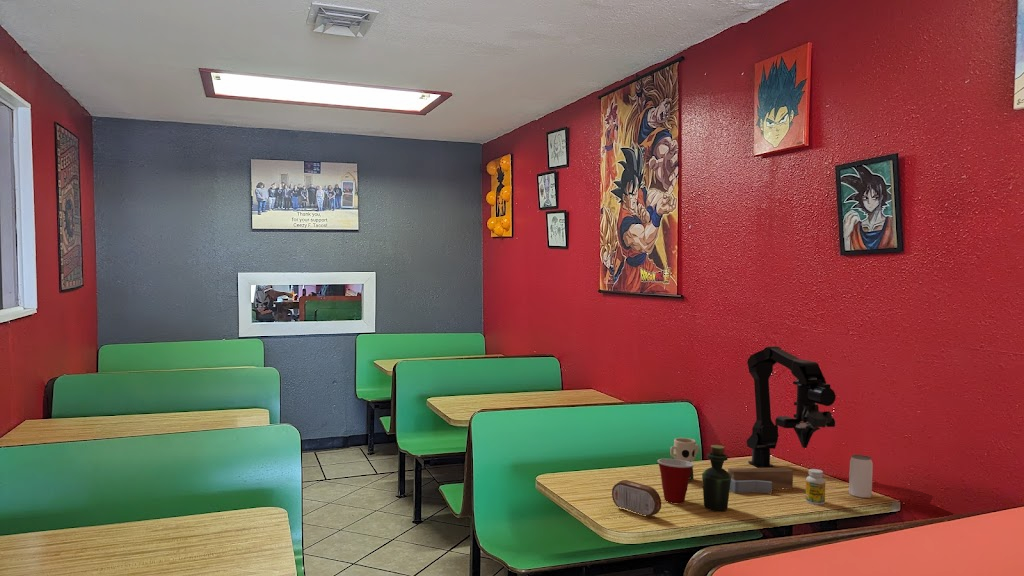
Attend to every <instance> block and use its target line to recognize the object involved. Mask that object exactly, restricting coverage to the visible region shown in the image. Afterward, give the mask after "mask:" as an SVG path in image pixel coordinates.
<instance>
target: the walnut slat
mask: <svg viewBox="0 0 1024 576" xmlns="http://www.w3.org/2000/svg"><path fill="white" fill-rule="evenodd" d="M727 469H728V470H727V472H728V473H729V474H730V476H731V478H732V479H734V480H736V481H741V480H761V481H770V482H772V490H787V489H786V488H789V489H788V490H793V489H794V488H793V485H794V484H793V483H794V470H792V469H790V468H788V467H737V468H736V467H734V468H733V467H732V468H731V467H730V468H729V467H728V468H727ZM782 488H784V489H782ZM791 488H792V489H791Z"/></svg>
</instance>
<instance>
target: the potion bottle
mask: <svg viewBox="0 0 1024 576" xmlns="http://www.w3.org/2000/svg"><path fill="white" fill-rule="evenodd" d="M710 451H711V452H707V455H706V459H708V460H710V464H711V467H708V468H707V469H705V470H703V472H702V474H701V475H702V476H701V477H702V493H703V495H702V497H703V506H704V508H705V509H706V510H708V511H711V512H717V511H718V512H719V513H720V512H726V511H727V510H728V505H729V497H730V492H731V491H730V483H731V476H730V474H729V473H728V470H726V469H724V468H723V466H724V462H726V461H728V456H727V454H726V453H724V451H725V446H723V445H721V444H720V445H719V444H711V445H710Z"/></svg>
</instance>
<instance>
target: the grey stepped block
mask: <svg viewBox="0 0 1024 576" xmlns="http://www.w3.org/2000/svg"><path fill="white" fill-rule="evenodd" d="M772 491H773V489H772V482H770V481H761V480H741V481H736V480H734V479H732V478H731V483H730V491H729V492H732V494H742V493H743V494H744V493H745V494H746V493H759V492H760V493H759V494H761V493H762V494H768V493H771V494H772Z"/></svg>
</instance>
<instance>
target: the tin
mask: <svg viewBox="0 0 1024 576" xmlns="http://www.w3.org/2000/svg"><path fill="white" fill-rule="evenodd" d="M611 490H612V491H611V497H612V501H613V503H614V504H615V506H616V507H617V506H618V507H621V508H625V509H628V510H631V511H633V512H636V513H639V514H642V515H646V516H649V517H648V518H650V517H653V516H655V515H657V514H658V513H659V512H660V511H661V508H662V498H661V496H660V494H659V492H657V490H656V489H655V488H654V487H652V486H649V485H647V484H644V483H643V484H642V483H639V482H635V481H631V480H628V479H623V480H620V481H618V482H617V483H615V485H613V487H612V489H611ZM618 507H617V508H618Z"/></svg>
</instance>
